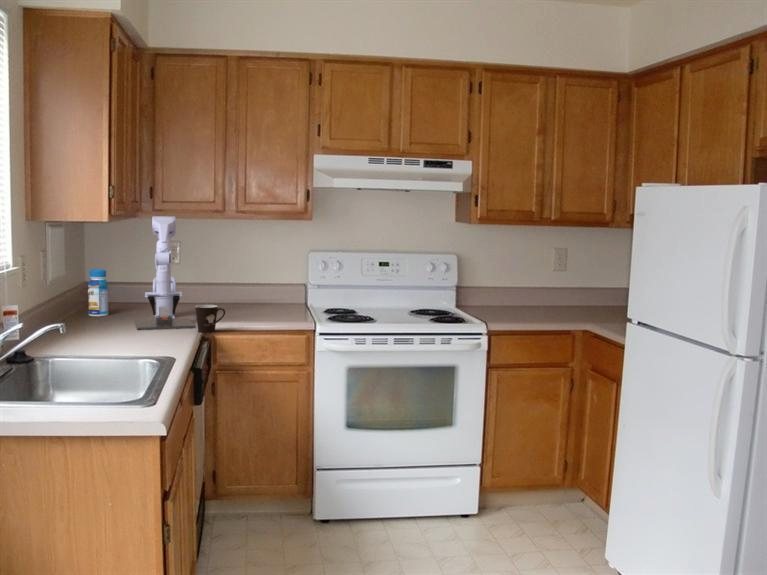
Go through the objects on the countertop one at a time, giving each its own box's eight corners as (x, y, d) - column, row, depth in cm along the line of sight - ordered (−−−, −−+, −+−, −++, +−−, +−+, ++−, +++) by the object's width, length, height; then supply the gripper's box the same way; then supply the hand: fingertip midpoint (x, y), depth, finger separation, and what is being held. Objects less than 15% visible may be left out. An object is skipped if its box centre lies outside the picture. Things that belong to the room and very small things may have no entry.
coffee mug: (195, 333, 288) (195, 307, 287) (195, 329, 296) (194, 304, 295) (226, 332, 291) (226, 307, 290) (224, 329, 299) (224, 304, 298)
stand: (134, 321, 313) (134, 313, 312) (188, 320, 321) (188, 311, 320) (137, 330, 292) (137, 321, 292) (194, 328, 300) (194, 319, 300)
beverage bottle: (109, 316, 326) (108, 270, 324) (89, 317, 322) (88, 270, 320) (107, 313, 334) (107, 268, 331) (87, 314, 330) (86, 269, 328)
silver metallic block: (158, 321, 307) (158, 306, 307) (168, 321, 309) (168, 306, 308) (159, 323, 304) (159, 307, 303) (169, 322, 305) (168, 307, 305)
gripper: (145, 282, 298) (146, 316, 300) (183, 282, 303) (183, 315, 305) (144, 280, 305) (144, 313, 306) (181, 280, 310) (181, 312, 311)
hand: (163, 314), depth 306 cm, fingers open, 7 cm apart
